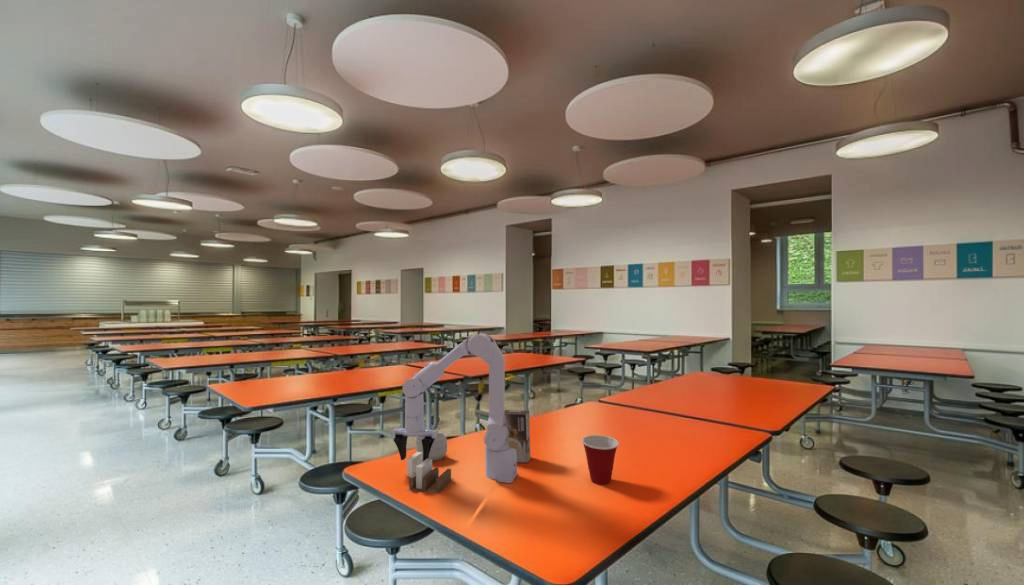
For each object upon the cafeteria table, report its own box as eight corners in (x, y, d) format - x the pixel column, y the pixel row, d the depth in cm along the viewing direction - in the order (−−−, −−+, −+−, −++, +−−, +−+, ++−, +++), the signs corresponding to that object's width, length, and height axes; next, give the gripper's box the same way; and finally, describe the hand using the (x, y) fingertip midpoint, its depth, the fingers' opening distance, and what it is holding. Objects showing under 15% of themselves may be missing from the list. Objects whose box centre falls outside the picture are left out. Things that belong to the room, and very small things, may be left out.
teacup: (440, 465, 142) (440, 441, 143) (410, 464, 144) (409, 439, 145) (454, 452, 156) (454, 430, 156) (426, 450, 158) (426, 428, 158)
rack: (453, 481, 129) (453, 467, 129) (439, 496, 118) (439, 481, 118) (423, 478, 131) (423, 465, 131) (406, 493, 120) (406, 479, 120)
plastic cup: (597, 491, 120) (596, 447, 120) (575, 478, 129) (574, 437, 130) (628, 483, 124) (626, 441, 125) (604, 471, 134) (603, 432, 135)
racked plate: (432, 479, 128) (432, 459, 128) (422, 488, 121) (421, 467, 122) (426, 479, 129) (426, 458, 129) (416, 488, 122) (416, 466, 122)
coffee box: (531, 457, 149) (530, 410, 150) (527, 463, 143) (526, 414, 144) (505, 455, 151) (505, 409, 152) (501, 461, 145) (500, 413, 146)
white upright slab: (422, 471, 138) (422, 452, 138) (412, 479, 131) (412, 459, 131) (417, 470, 138) (417, 451, 138) (406, 479, 131) (406, 459, 131)
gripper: (441, 414, 137) (441, 457, 137) (399, 412, 141) (399, 454, 140) (431, 419, 131) (431, 464, 130) (388, 417, 134) (388, 461, 133)
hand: (414, 459), depth 135 cm, fingers open, 7 cm apart
